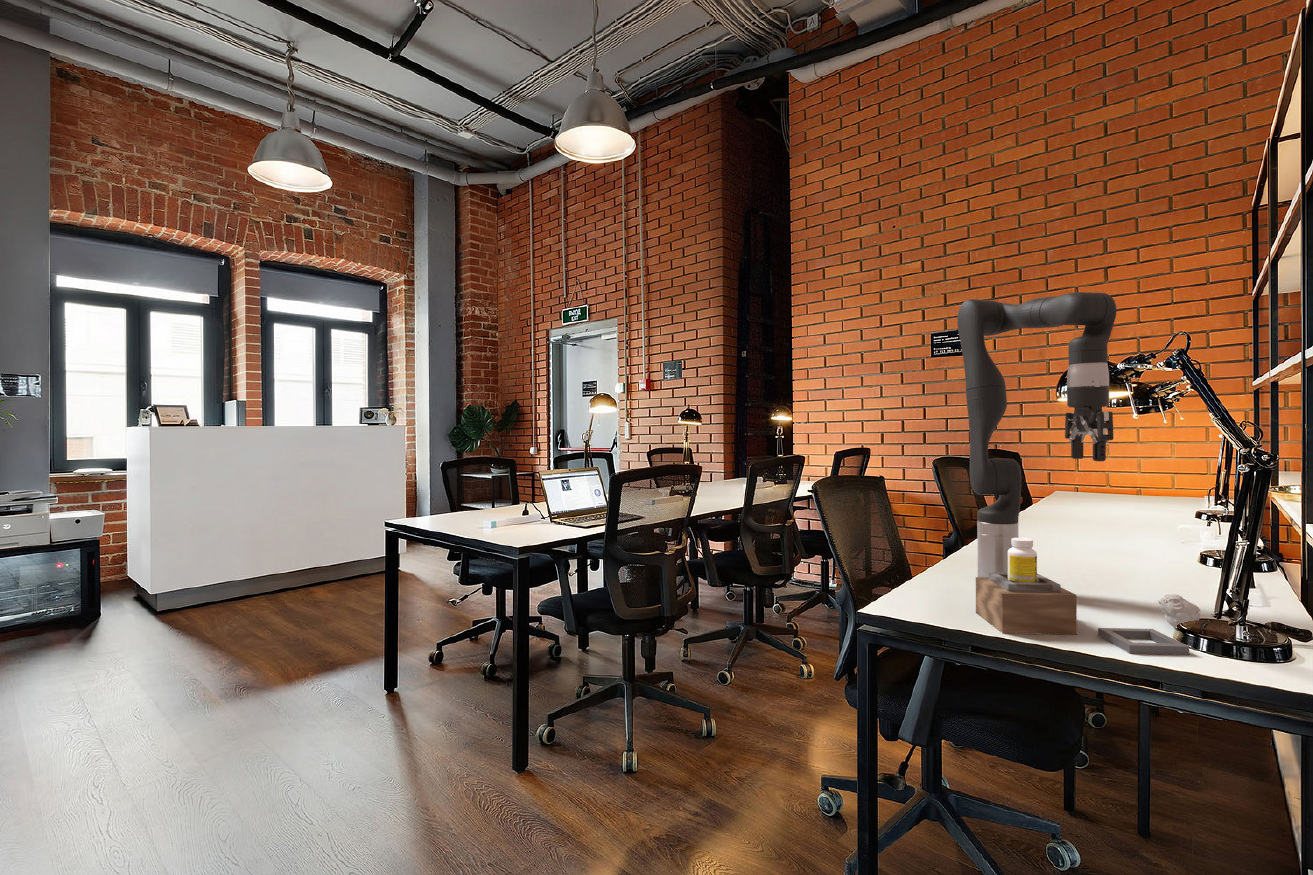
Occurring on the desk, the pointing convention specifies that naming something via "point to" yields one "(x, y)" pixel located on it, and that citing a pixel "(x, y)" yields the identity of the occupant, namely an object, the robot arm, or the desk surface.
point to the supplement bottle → (1022, 561)
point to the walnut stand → (1026, 605)
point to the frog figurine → (1178, 609)
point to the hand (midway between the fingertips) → (1088, 459)
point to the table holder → (1161, 647)
